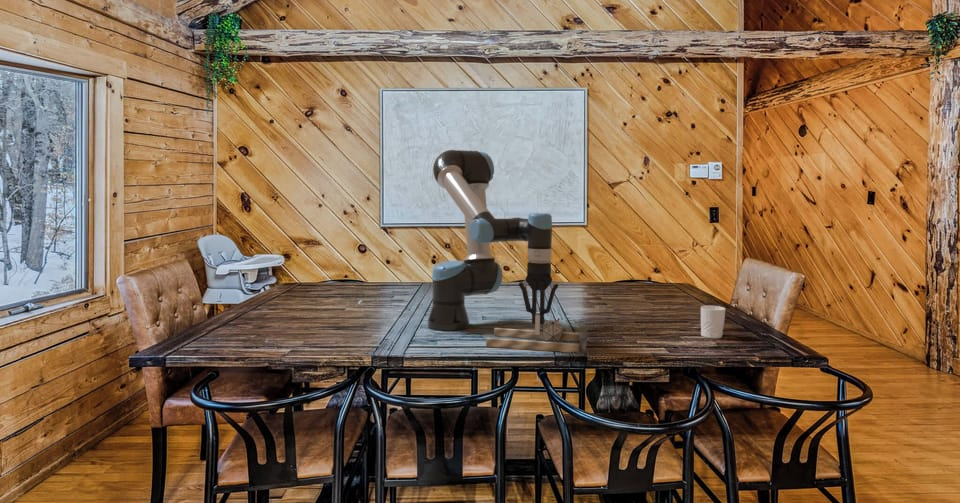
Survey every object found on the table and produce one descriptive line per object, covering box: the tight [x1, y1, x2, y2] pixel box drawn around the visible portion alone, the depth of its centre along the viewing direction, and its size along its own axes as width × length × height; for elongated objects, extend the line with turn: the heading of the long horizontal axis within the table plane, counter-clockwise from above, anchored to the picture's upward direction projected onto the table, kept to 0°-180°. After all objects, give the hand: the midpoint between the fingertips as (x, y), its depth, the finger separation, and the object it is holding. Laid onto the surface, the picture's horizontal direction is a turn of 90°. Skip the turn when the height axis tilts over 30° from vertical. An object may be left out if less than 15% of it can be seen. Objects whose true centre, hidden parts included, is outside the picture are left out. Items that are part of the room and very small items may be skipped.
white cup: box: [700, 304, 726, 339], centre depth 193 cm, size 8×8×10 cm
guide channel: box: [485, 325, 588, 354], centre depth 182 cm, size 31×15×5 cm, turn 78°
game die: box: [540, 318, 567, 343], centre depth 182 cm, size 9×8×10 cm
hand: (537, 333), depth 181 cm, fingers closed
